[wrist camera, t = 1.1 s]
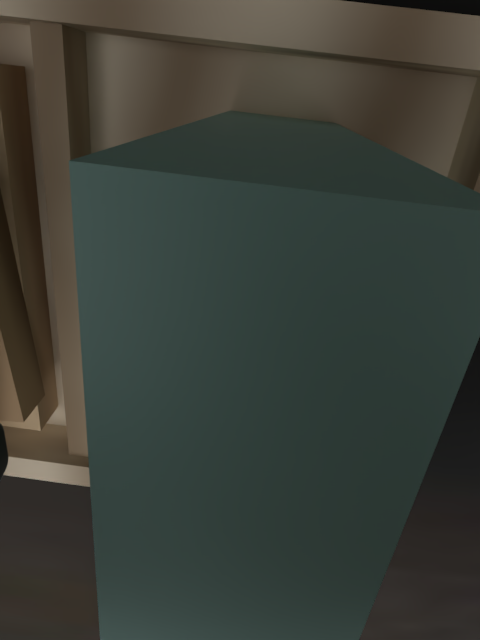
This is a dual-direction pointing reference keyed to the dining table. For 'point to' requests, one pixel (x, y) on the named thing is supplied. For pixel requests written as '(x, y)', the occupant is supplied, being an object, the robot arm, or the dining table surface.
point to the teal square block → (263, 369)
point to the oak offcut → (26, 230)
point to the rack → (211, 99)
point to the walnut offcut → (15, 338)
